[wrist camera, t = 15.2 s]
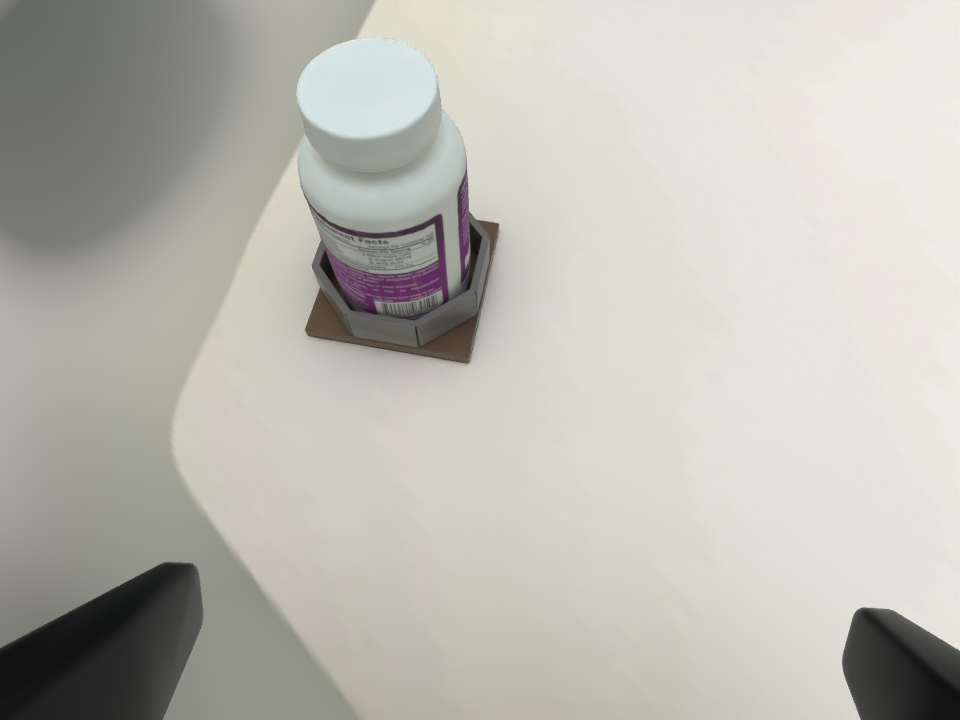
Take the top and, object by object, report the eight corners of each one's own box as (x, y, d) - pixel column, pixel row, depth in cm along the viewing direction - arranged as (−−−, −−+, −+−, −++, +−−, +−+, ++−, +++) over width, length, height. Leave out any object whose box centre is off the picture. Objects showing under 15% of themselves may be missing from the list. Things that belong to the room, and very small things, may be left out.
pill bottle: (386, 207, 28) (343, -3, 20) (494, 255, 27) (498, 54, 19) (313, 299, 26) (229, 110, 18) (427, 356, 25) (396, 183, 16)
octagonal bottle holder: (468, 363, 26) (467, 337, 24) (307, 335, 26) (293, 308, 24) (499, 230, 28) (500, 197, 27) (353, 207, 29) (343, 174, 27)
